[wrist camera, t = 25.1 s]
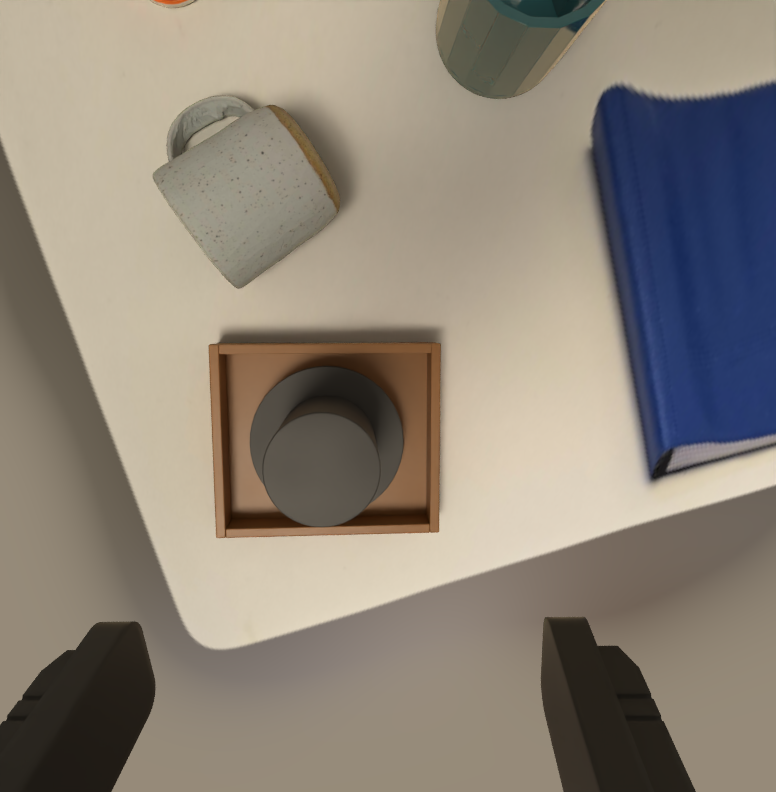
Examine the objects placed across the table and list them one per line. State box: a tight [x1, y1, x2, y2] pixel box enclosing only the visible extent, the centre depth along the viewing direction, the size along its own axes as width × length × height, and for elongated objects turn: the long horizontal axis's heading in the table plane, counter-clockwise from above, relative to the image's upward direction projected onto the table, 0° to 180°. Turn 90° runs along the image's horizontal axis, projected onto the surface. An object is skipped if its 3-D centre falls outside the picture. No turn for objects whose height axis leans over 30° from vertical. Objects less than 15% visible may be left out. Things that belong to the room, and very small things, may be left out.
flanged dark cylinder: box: [250, 366, 404, 527], centre depth 34 cm, size 10×10×9 cm
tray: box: [209, 342, 441, 538], centre depth 38 cm, size 14×12×2 cm
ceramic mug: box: [153, 96, 340, 289], centre depth 33 cm, size 11×8×8 cm
